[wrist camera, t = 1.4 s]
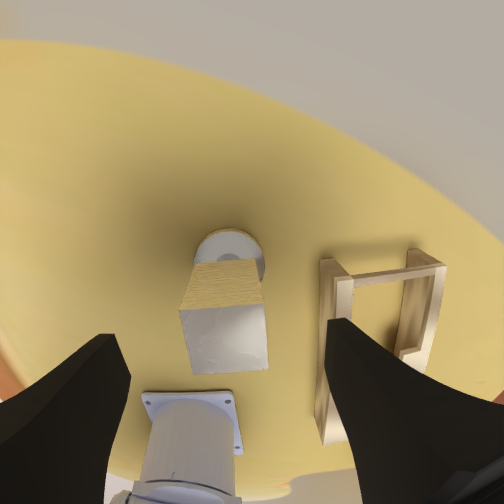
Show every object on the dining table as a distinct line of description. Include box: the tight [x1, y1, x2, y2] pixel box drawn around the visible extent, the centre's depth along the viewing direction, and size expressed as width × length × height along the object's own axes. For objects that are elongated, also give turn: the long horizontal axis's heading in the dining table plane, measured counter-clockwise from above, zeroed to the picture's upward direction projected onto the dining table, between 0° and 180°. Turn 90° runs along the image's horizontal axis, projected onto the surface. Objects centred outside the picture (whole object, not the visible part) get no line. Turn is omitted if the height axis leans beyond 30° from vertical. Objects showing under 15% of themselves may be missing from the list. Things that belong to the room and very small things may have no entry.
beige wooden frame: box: [314, 249, 447, 446], centre depth 21 cm, size 16×8×4 cm, turn 5°
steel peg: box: [179, 228, 269, 375], centre depth 15 cm, size 4×4×9 cm
